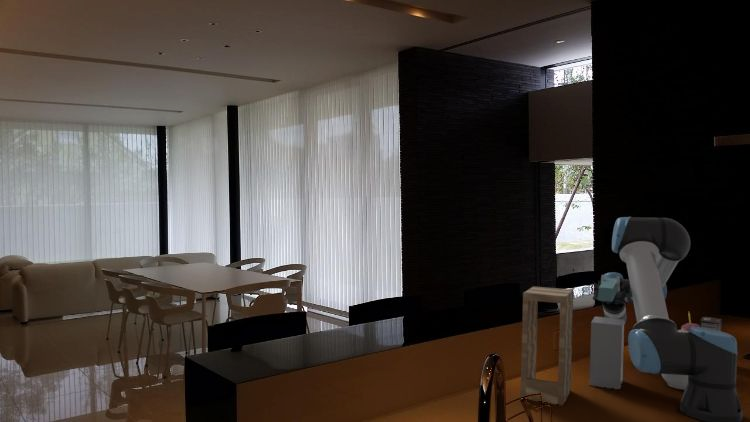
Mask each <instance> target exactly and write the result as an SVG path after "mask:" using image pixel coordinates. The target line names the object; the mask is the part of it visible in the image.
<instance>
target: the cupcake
mask: <svg viewBox="0 0 750 422" xmlns="http://www.w3.org/2000/svg"><path fill="white" fill-rule="evenodd" d="M687 315H688V321H689V322H687V323H684V324H682V325H681V326H680V328H681V329H680V330H684V331H687V332H689V329H690V327H700V324H698V323H693V322H692V320H691V319H692V318H691V313H690V312H688V314H687Z"/></svg>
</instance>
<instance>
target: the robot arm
mask: <svg viewBox="0 0 750 422" xmlns="http://www.w3.org/2000/svg"><path fill="white" fill-rule="evenodd" d="M690 249H691V237H690V235H689V232H688V231H687V230H686V228H685V227H684V226H683V225H682V224H681V223H679V222H678V221H676V220H674V219H672V218H668V217H641V216H640V217H639V216H638V217H637V216H635V217H633V216H623V217H622V216H621V217H618V218H617V219H616V220H615V223H614V226H613V231H612V237H611V251H612V252H613V253H616V254H618V255H619V258H620V260H621V261H622V262H624V263H626V270H627V275H628V279H627V278H626V279H624V276H623V275H622V274H621V273H619V272H615V271H613V272H607V273H604V274H601V277H600V279H599V280H597V281H598V282H593V288H592V289H593V291H592V300H593V301H596V300H598V293H599V286H600V285H601V284H602V282H603V281H604V280H605V278H615V279H617V283H616V284H617V291H618V292H617V294H616V296H615V297H614V299H613V301H612V302H610V301H601V303H602V304H601V305H602V307H603V308H602V310H603V313H604V317H605V318H616V319H624V325H625V324H626V322H627V319H628V318H627V317H628V316H627V311H626V310H627V308H626V303H630V304H633V307H634V313H635V319H636V323H635V324H634V325H633V327H632V330H630V331H629V333H628V337H627V338H628V339H627V344H628V352H629V353H628V354H629V357H630V359H631V362H632V364H633V366H634V368H635V369H637V370H638V371H639V372H641V373H646V374H647V373H648V374H649V373H650V374H652V375H657V374H660V375H662V374H673V375H688V384H687V386H686V388H685V390H683V391H684V392H683V394H682V396H681V399H680V400H679V401H680V402H679V410H680V412H682V414H684V415H685V416H687V417H690V418H692V419H695V420H699V421H701V422H702V421H703V422H742V421H743V417H744V415H743V414H744V413H743V408H742V405H741V402H740V398H739V395H738V392H737V365H738V354H739V352H738V342H737V339H736V338H735V336H733V335H732V334H730V333H728V332H724V331H722V330H721V331H718V330H714V329H709V328H704V327H690V329H689V332H678V330H679V329H678V326H677V324H676V323H675V321H673V320H672V319H670V318H669V314H668V309H667V304H666V298H667V293H668V288H667V287H668V286H667V284H666V283H667V282H668V280H669V278H670V276H671V275H672V273H673V271H674V270H675V268H676V267H677V265H678V263H679V262H680V261H682V260H684V259H685V258H686V257H687V255H688V253H689V251H690Z"/></svg>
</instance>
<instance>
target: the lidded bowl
mask: <svg viewBox="0 0 750 422" xmlns="http://www.w3.org/2000/svg"><path fill="white" fill-rule="evenodd" d="M661 377H662V378H663V380H664V381H665V382H666V384H667V385H668V387H670V388H674V389H677V390H683V391H685V388H686V386H687V384H688V375H673V374H661Z"/></svg>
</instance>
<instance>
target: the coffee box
mask: <svg viewBox="0 0 750 422" xmlns="http://www.w3.org/2000/svg"><path fill="white" fill-rule="evenodd" d="M722 320H723V319H722V318H717V317H711V316H702V317H701V319H700V320H699V325H700V327H704V328H709V329H714V330H718V331H721V332H722V330H723V328H722V325H723V324H722V323H723V321H722Z"/></svg>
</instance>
